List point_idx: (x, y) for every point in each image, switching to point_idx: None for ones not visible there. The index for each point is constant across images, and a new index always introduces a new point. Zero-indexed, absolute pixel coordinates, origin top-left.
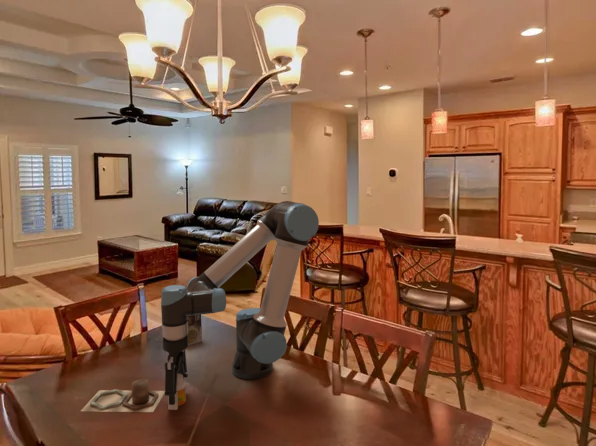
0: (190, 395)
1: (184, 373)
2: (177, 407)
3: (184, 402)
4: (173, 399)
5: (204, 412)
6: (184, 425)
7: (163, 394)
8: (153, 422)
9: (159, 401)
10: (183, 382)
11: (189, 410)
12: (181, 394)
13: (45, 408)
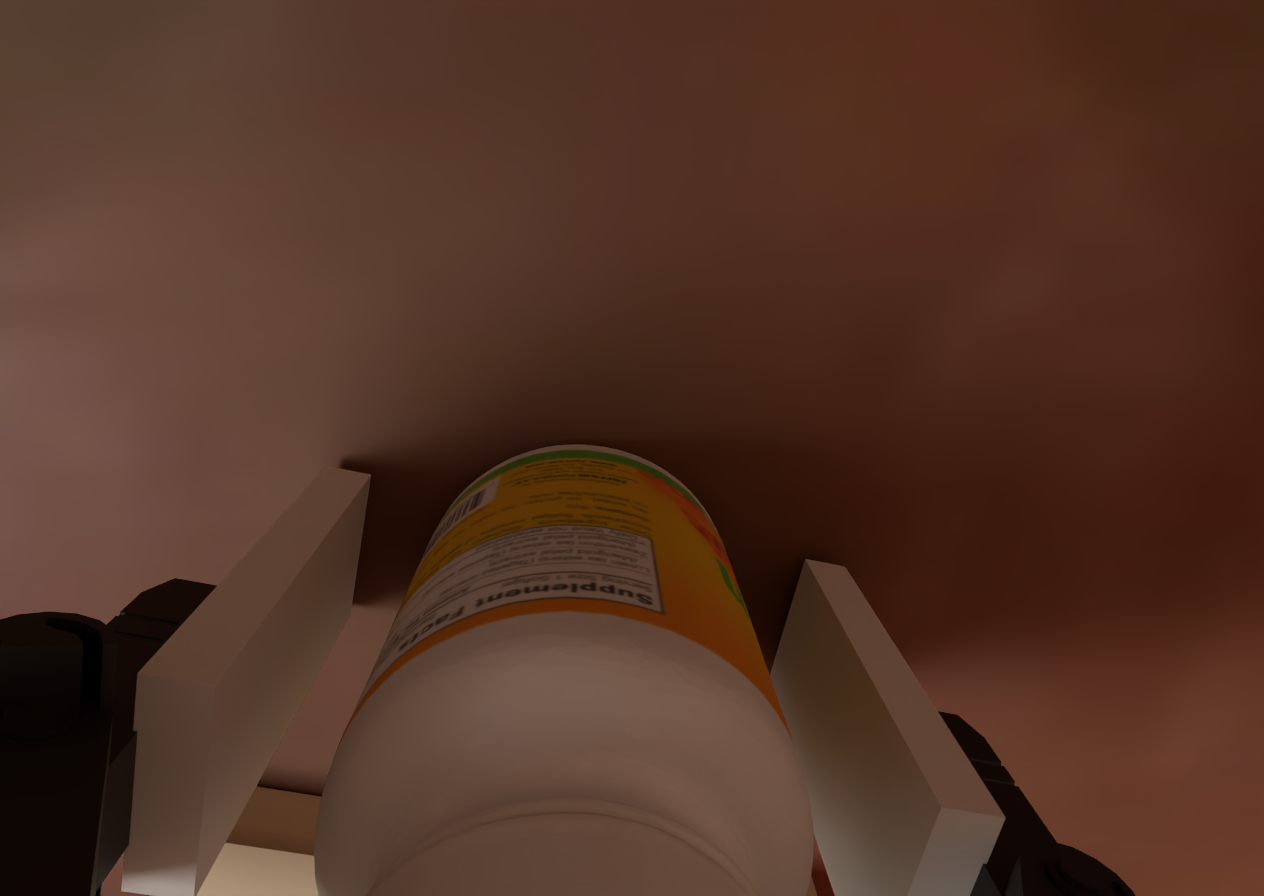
0: (254, 375)
1: (27, 791)
2: (848, 606)
3: (665, 490)
4: (1026, 803)
5: (921, 82)
6: (1194, 428)
7: (303, 858)
8: None
9: None
10: (568, 734)
11: (777, 369)
12: (752, 636)
13: None
